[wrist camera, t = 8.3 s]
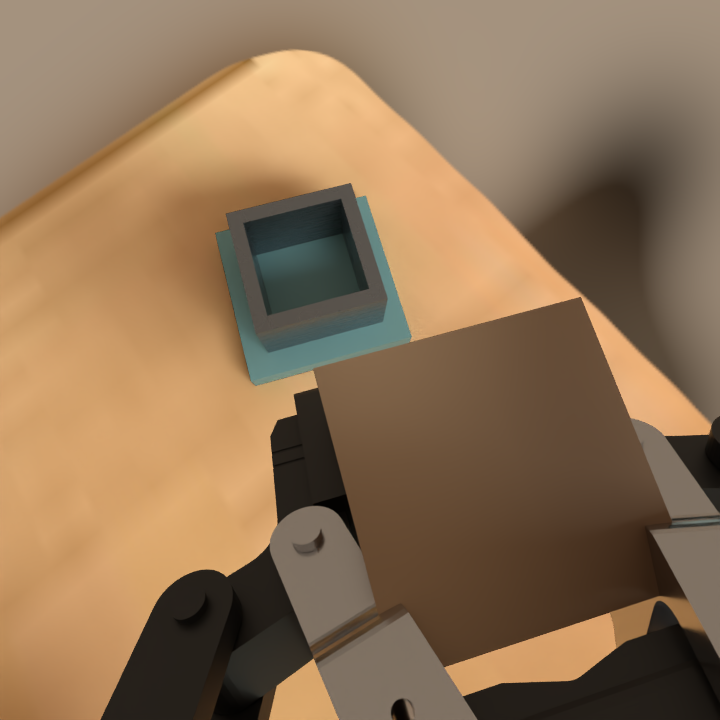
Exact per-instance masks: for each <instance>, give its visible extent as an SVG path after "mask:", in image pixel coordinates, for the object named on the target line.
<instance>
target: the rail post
mask: <svg viewBox="0 0 720 720" xmlns="http://www.w3.org/2000/svg"><path fill="white" fill-rule="evenodd" d="M313 370H314V374H315V378H316V381H317V385H318V389H319V393H320V397H321V400H322V404H323V408H324V412H325V415H326V419H327V423H328V427H329V430H330V434H331V438H332V442H333V446H334V449H335V453H336V457H337V461H338V464H339V468H340V472H341V476H342V480H343V483H344V487H345V491H346V495H347V498H348V502H349V506H350V510H351V513H352V517H353V521H354V525H355V529H356V532H357V536H358V540H359V544H360V547H361V551H362V555H363V559H364V563H365V566H366V570H367V574H368V578H369V581H370V585H371V589H372V593H373V597H374V600H375V604H376V608H377V612H378V615H379V614H381V613H382V612H384V611H386V610H388V609H390V608H392V607H394V606H396V605H398V604H400V603H401V604H402V605H403V606H404V607H405V608H406V610H407V611H408V612H409V614H410V615H411V617H412V618H413V620H414V622H415V623H416V625H417V626H418V628H419V629H420V631H421V632H422V634H423V636H424V637H425V639H426V640H427V642H428V643H429V645H430V647H431V648H432V650H433V651H434V653H435V654H436V656H437V657H438V659H439V661H440V662H441V664H442V665H443V667H446V666H449V665H452V664H455V663H458V662H461V661H464V660H467V659H470V658H473V657H476V656H479V655H482V654H485V653H488V652H491V651H494V650H498V649H501V648H504V647H507V646H510V645H513V644H516V643H519V642H522V641H525V640H528V639H531V638H534V637H537V636H540V635H543V634H546V633H549V632H552V631H555V630H558V629H561V628H564V627H567V626H570V625H573V624H576V623H579V622H582V621H585V620H588V619H591V618H594V617H597V616H600V615H603V614H606V613H609V612H613V611H616V610H619V609H622V608H625V607H628V606H631V605H634V604H637V603H640V602H643V601H646V600H649V599H652V598H655V597H658V596H659V591H658V586H657V582H656V577H655V572H654V568H653V563H652V558H651V554H650V549H649V544H648V540H647V535H646V530H645V525H652V524H659V523H668V522H672V519H671V517H670V515H669V512H668V510H667V507H666V505H665V502H664V500H663V497H662V495H661V493H660V490H659V488H658V485H657V483H656V480H655V478H654V475H653V473H652V470H651V468H650V466H649V463H648V461H647V458H646V456H645V453H644V451H643V448H642V446H641V443H640V441H639V439H638V436H637V434H636V431H635V429H634V426H633V424H632V421H631V419H630V416H629V414H628V412H627V409H626V407H625V404H624V402H623V399H622V397H621V394H620V392H619V389H618V387H617V385H616V382H615V380H614V377H613V375H612V372H611V370H610V367H609V365H608V363H607V360H606V358H605V355H604V353H603V350H602V348H601V345H600V343H599V340H598V338H597V336H596V333H595V331H594V328H593V326H592V323H591V321H590V318H589V316H588V313H587V311H586V309H585V306H584V304H583V301H582V299H581V297H579V298H575V299H571V300H568V301H564V302H560V303H556V304H553V305H549V306H545V307H541V308H538V309H534V310H530V311H526V312H523V313H519V314H515V315H511V316H508V317H504V318H500V319H496V320H493V321H489V322H485V323H481V324H478V325H474V326H470V327H466V328H463V329H459V330H455V331H451V332H448V333H444V334H440V335H436V336H433V337H429V338H425V339H421V340H418V341H414V342H410V343H406V344H403V345H399V346H395V347H391V348H388V349H384V350H380V351H376V352H373V353H369V354H365V355H361V356H358V357H354V358H350V359H346V360H343V361H339V362H335V363H331V364H328V365H324V366H320V367H316V368H313Z"/></svg>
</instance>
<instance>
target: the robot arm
mask: <svg viewBox="0 0 720 720" xmlns="http://www.w3.org/2000/svg"><path fill="white" fill-rule="evenodd" d="M294 399H295V405H296V411H297V415H295V416H291V417H287V418H284V419H280V420H278V421H277V423H276V425H275V427H274V430H273V432H272V434H271V436H270V438H271V449H272V461H273V468H274V469H273V472H274V483H275V495H276V506H277V518H278V524H277V527H276V528H275V530H274V532H273V534H272V536H271V539H270V544H269V545H268V547H267V548H266V549H265V550H264V551H263V552H262V553H261V554H260V555H259V556H258V557H257V558H256V559H254V560H253V561H251V562H250V563H249V564H247V565H245V566H244V567H242V568H240V569H239V570H237V571H236V572H234V573H232V574H231V575H229V576H228V577H226V576H225V575H224V574H222V573H220V572H218V571H215V570H199V571H195V572H192V573H189V574H187V575H185V576H183V577H181V578H180V579H178V580H177V581H175V582H174V583H173V584H172V585H171V586H169V587H168V588H167V589H166V590H165V592H164V593H163V594H162V595H161V596H160V598H159V599H158V601H157V602H156V604H155V606H154V608H153V610H152V612H151V614H150V616H149V619H148V621H147V623H146V625H145V627H144V629H143V631H142V633H141V635H140V638H139V640H138V642H137V644H136V646H135V648H134V650H133V652H132V654H131V657H130V659H129V661H128V663H127V665H126V667H125V669H124V671H123V673H122V676H121V678H120V680H119V682H118V684H117V686H116V688H115V690H114V692H113V695H112V697H111V699H110V701H109V703H108V705H107V707H106V709H105V711H104V714H103V716H102V718H101V720H269V717H270V712H271V708H272V704H273V699H274V695H275V691H276V686H277V685H278V684H280V683H281V682H282V681H284V680H285V679H286V678H288V677H289V676H290V675H292V674H293V673H294V672H296V671H297V670H299V669H300V668H301V667H303V666H304V665H305V664H307V663H308V662H309V661H311V660H312V659H313V658H314V660H315V663H316V665H317V667H318V670H319V672H320V675H321V677H322V680H323V682H324V684H325V687H326V689H327V692H328V694H329V696H330V699H331V701H332V704H333V706H334V708H335V711H336V713H337V716H338V718H339V720H720V416H719V417H718V418H717V419H715V421H714V422H713V424H712V426H711V430H710V433H709V435H690V436H664V435H663V434H662V433H661V432H660V431H659V430H657V429H656V428H654V427H653V426H651V425H649V424H647V423H645V422H642V421H639V420H635V419H631V418H630V419H631V421H632V424H633V426H634V429H635V431H636V434H637V436H638V439H639V441H640V443H641V446H642V448H643V451H644V453H645V456H646V458H647V461H648V463H649V466H650V468H651V470H652V473H653V475H654V478H655V480H656V483H657V485H658V488H659V490H660V493H661V495H662V497H663V500H664V502H665V505H666V507H667V510H668V512H669V515H670V517H671V519H672V522H668V523H659V524H652V525H645V530H646V535H647V540H648V544H649V549H650V554H651V558H652V563H653V568H654V572H655V577H656V582H657V586H658V591H659V596H658V597H655V598H652V599H649V600H646V601H643V602H640V603H637V604H634V605H631V606H628V607H625V608H622V609H619V610H616V611H613V612H610V614H611V618H612V621H613V626H614V634H615V642H616V649H615V650H614V651H613V652H611V653H610V654H609V655H608V656H606V657H605V658H604V659H602V660H601V661H600V662H599V663H597V664H596V665H595V666H593V667H592V668H591V669H590V670H588V671H587V672H586V673H585V674H583V675H582V676H581V677H579V678H577V679H575V680H572V681H559V682H527V683H501V684H498V685H495V686H492V687H489V688H486V689H483V690H481V691H478V692H475V693H472V694H469V695H466V696H462V695H461V693H460V692H459V690H458V689H457V687H456V685H455V684H454V682H453V681H452V679H451V678H450V676H449V675H448V673H447V671H446V670H445V668H444V667H443V665H442V664H441V662H440V661H439V659H438V657H437V656H436V654H435V653H434V651H433V650H432V648H431V647H430V645H429V643H428V642H427V640H426V639H425V637H424V636H423V634H422V632H421V631H420V629H419V628H418V626H417V625H416V623H415V622H414V620H413V618H412V617H411V615H410V614H409V612H408V611H407V610H406V608H405V607H404V606H403V605H402V604H401V603H400V604H398V605H396V606H394V607H392V608H390V609H388V610H386V611H384V612H382V613H381V614H379V615H378V612H377V608H376V604H375V600H374V597H373V593H372V589H371V585H370V581H369V578H368V574H367V570H366V566H365V563H364V559H363V555H362V551H361V547H360V544H359V540H358V536H357V532H356V529H355V525H354V521H353V517H352V513H351V510H350V506H349V502H348V498H347V495H346V491H345V487H344V483H343V480H342V476H341V472H340V468H339V464H338V461H337V457H336V453H335V449H334V446H333V442H332V438H331V434H330V430H329V427H328V423H327V419H326V415H325V412H324V408H323V404H322V400H321V397H320V393H319V389H318V388H315V389H311V390H308V391H304V392H300V393H297V394H294Z"/></svg>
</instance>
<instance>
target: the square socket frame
mask: <svg viewBox="0 0 720 720" xmlns="http://www.w3.org/2000/svg"><path fill="white" fill-rule="evenodd" d="M226 217H227V221H228V225H229V229H230V233H231V237H232V241H233V245H234V249H235V253H236V257H237V261H238V265H239V269H240V273H241V277H242V281H243V285H244V289H245V293H246V297H247V301H248V305H249V309H250V313H251V317H252V321H253V325H254V329H255V333H256V335H257V336H258V338H259V339H260V341H261V342H262V344H263V345H264V347H265V348H266V350H267V351H268V353H270V352H274V351H277V350H281V349H285V348H288V347H292V346H296V345H299V344H303V343H307V342H310V341H314V340H318V339H322V338H325V337H329V336H333V335H336V334H340V333H344V332H347V331H351V330H355V329H358V328H362V327H366V326H369V325H373V324H377V323H381V322H383V319H384V315H385V310H386V305H387V300H388V297H387V294H386V291H385V288H384V285H383V282H382V279H381V275H380V272H379V269H378V266H377V263H376V260H375V257H374V254H373V250H372V247H371V244H370V241H369V238H368V235H367V232H366V229H365V225H364V222H363V219H362V216H361V213H360V210H359V207H358V204H357V201H356V197H355V194H354V191H353V188H352V185H351V183H349V184H345V185H341V186H337V187H333V188H329V189H325V190H321V191H316V192H312V193H308V194H304V195H300V196H296V197H292V198H288V199H284V200H280V201H276V202H272V203H268V204H263V205H259V206H255V207H251V208H247V209H243V210H239V211H235V212H231V213H227V214H226ZM338 234H343V237H344V241H345V244H346V247H347V250H348V254H349V257H350V260H351V263H352V267H353V270H354V273H355V276H356V280H357V283H358V286H359V289H360V291H359V292H355V293H351V294H348V295H344V296H340V297H336V298H333V299H329V300H325V301H321V302H317V303H314V304H310V305H306V306H302V307H299V308H295V309H291V310H287V311H283V312H280V313H276V314H272V311H271V307H270V304H269V300H268V296H267V292H266V288H265V284H264V281H263V277H262V273H261V269H260V265H259V261H258V258H257V255H259V254H263V253H267V252H271V251H275V250H279V249H283V248H287V247H291V246H295V245H299V244H303V243H307V242H311V241H314V240H318V239H322V238H326V237H330V236H334V235H338Z"/></svg>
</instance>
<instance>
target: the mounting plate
mask: <svg viewBox="0 0 720 720" xmlns="http://www.w3.org/2000/svg"><path fill="white" fill-rule="evenodd" d="M356 201H357V204H358V207H359V210H360V213H361V216H362V219H363V222H364V225H365V229H366V232H367V235H368V238H369V241H370V244H371V247H372V250H373V254H374V257H375V260H376V263H377V266H378V269H379V272H380V275H381V279H382V282H383V285H384V288H385V291H386V294H387V297H388V300H387V305H386V310H385V315H384V319H383V322H381V323H377V324H373V325H369V326H366V327H362V328H358V329H355V330H351V331H347V332H344V333H340V334H336V335H333V336H329V337H325V338H322V339H318V340H314V341H310V342H307V343H303V344H299V345H296V346H292V347H288V348H285V349H281V350H277V351H274V352H270V353H268V351H267V350H266V348H265V347H264V345H263V344H262V342H261V341H260V339H259V338H258V336H257V335H256V333H255V329H254V325H253V321H252V317H251V313H250V309H249V305H248V301H247V297H246V293H245V289H244V285H243V281H242V277H241V273H240V269H239V265H238V261H237V257H236V253H235V249H234V245H233V241H232V237H231V233H230V230H225V231H221V232H217V233H215V234H216V239H217V243H218V247H219V251H220V255H221V259H222V263H223V268H224V272H225V276H226V280H227V284H228V288H229V292H230V296H231V301H232V305H233V309H234V313H235V317H236V321H237V325H238V330H239V334H240V338H241V342H242V346H243V350H244V354H245V359H246V363H247V367H248V371H249V375H250V379H251V382H252V383H253V384H254V385H255V386H257V385H260V384H264V383H268V382H271V381H275V380H279V379H282V378H286V377H289V376H293V375H297V374H300V373H304V372H308V371H311V370H313V368H316V367H320V366H324V365H328V364H331V363H335V362H339V361H343V360H346V359H350V358H354V357H358V356H361V355H365V354H369V353H373V352H376V351H380V350H384V349H388V348H391V347H395V346H399V345H403V344H406V343H409V342H410V339H411V334H410V330H409V327H408V324H407V321H406V318H405V315H404V312H403V309H402V306H401V303H400V300H399V297H398V294H397V291H396V288H395V284H394V281H393V278H392V275H391V272H390V269H389V266H388V263H387V260H386V257H385V254H384V251H383V248H382V245H381V241H380V238H379V235H378V232H377V229H376V226H375V223H374V220H373V217H372V214H371V211H370V208H369V205H368V202H367V198H366V196H363V197H359V198H356ZM257 258H258V261H259V265H260V269H261V273H262V277H263V281H264V284H265V288H266V292H267V296H268V300H269V304H270V307H271V311H272V314H276V313H280V312H283V311H287V310H291V309H295V308H299V307H302V306H306V305H310V304H314V303H317V302H321V301H325V300H329V299H333V298H336V297H340V296H344V295H348V294H351V293H355V292H359V291H360V289H359V286H358V283H357V280H356V276H355V273H354V270H353V267H352V263H351V260H350V257H349V254H348V250H347V247H346V244H345V241H344V237H343V234H338V235H334V236H330V237H326V238H322V239H318V240H314V241H311V242H307V243H303V244H299V245H295V246H291V247H287V248H283V249H279V250H275V251H271V252H267V253H263V254H259V255H257Z"/></svg>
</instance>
